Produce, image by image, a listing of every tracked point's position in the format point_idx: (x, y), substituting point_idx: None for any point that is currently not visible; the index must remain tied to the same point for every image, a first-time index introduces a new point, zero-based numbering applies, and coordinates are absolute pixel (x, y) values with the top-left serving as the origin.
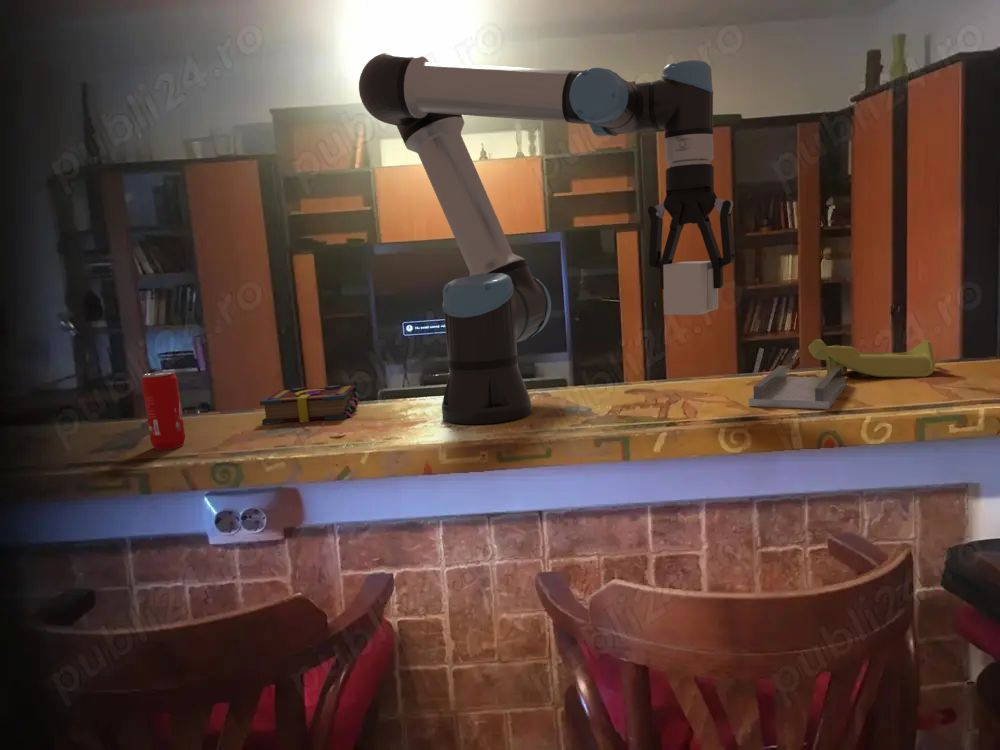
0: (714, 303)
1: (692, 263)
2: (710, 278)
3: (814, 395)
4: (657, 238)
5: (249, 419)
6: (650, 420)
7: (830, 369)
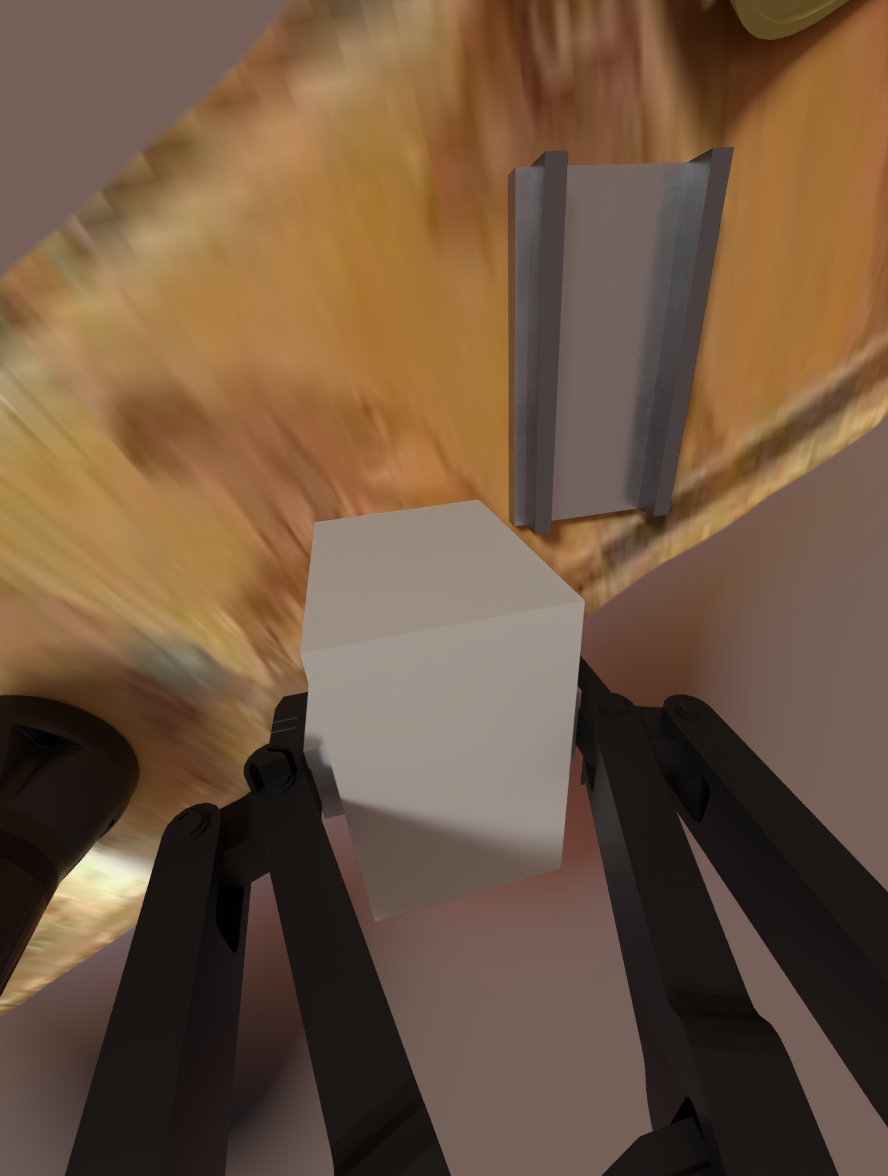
0: None
1: (507, 850)
2: None
3: (636, 454)
4: (225, 1111)
5: None
6: None
7: None
